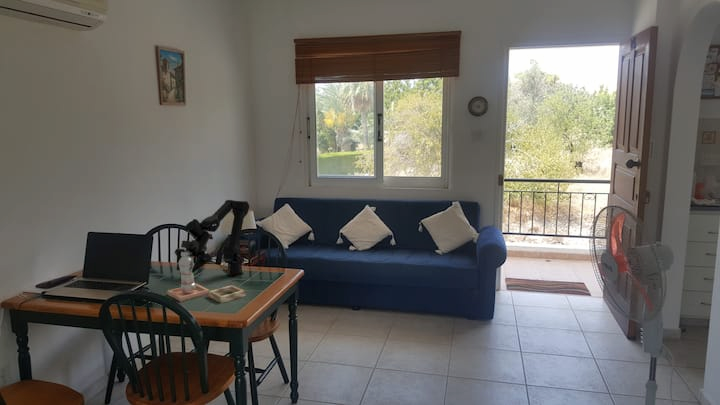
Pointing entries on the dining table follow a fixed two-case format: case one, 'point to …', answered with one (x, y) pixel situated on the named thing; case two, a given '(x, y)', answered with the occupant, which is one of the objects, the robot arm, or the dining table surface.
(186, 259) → the plastic bottle
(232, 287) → the collar
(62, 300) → the dining table surface
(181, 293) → the tray
